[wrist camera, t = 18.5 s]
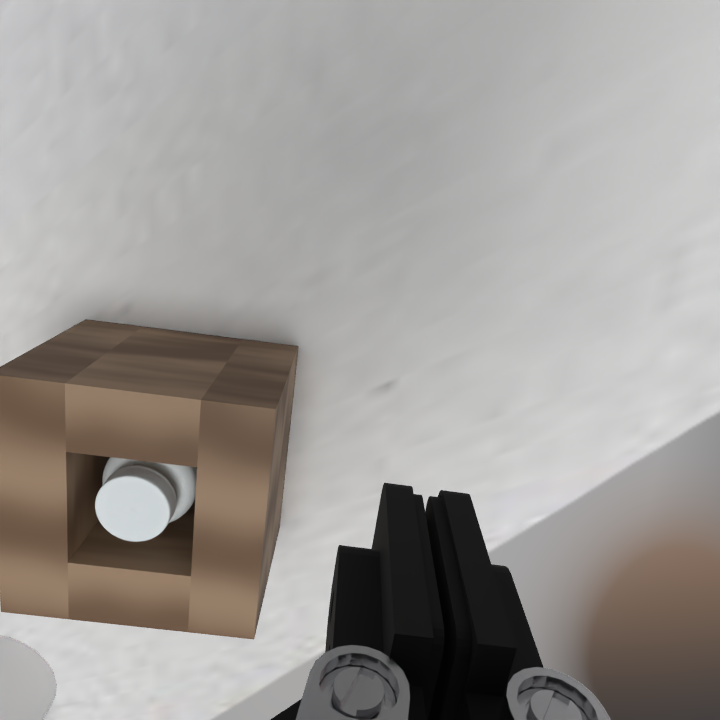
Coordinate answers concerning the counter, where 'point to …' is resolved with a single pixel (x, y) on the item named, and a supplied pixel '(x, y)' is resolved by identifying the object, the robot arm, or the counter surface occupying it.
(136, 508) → the pill bottle
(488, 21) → the counter surface
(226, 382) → the socket block
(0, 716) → the cylinder with rectangular tab
